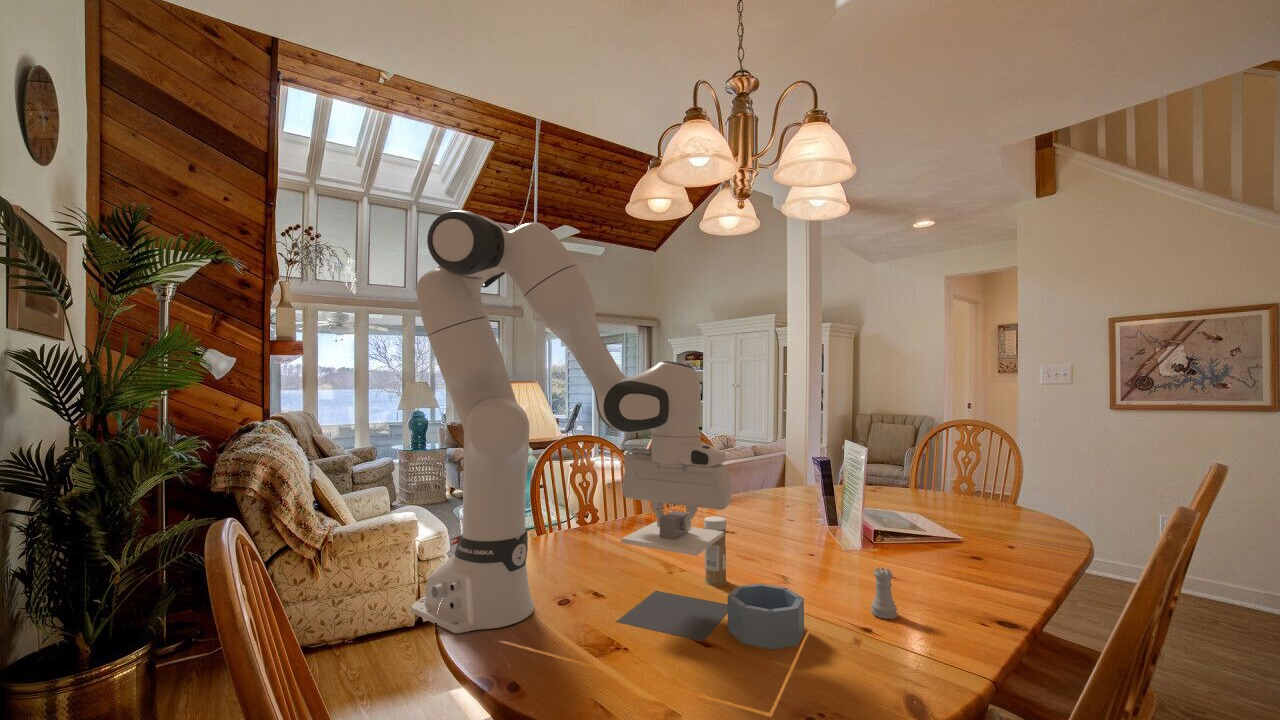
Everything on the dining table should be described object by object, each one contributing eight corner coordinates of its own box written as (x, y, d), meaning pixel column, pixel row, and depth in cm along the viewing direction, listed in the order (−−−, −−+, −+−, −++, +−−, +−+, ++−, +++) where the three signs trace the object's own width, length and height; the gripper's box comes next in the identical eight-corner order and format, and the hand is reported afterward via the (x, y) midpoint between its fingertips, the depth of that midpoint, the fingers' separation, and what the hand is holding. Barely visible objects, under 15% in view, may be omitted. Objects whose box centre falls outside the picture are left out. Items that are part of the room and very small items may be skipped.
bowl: (721, 640, 88) (720, 602, 88) (742, 614, 98) (741, 580, 99) (794, 657, 83) (793, 616, 83) (808, 627, 93) (807, 591, 93)
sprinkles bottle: (731, 585, 113) (730, 518, 113) (714, 589, 110) (714, 522, 111) (716, 578, 117) (716, 514, 117) (699, 582, 114) (699, 517, 115)
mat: (615, 624, 94) (615, 621, 94) (655, 592, 109) (655, 590, 109) (703, 643, 87) (703, 641, 87) (733, 607, 101) (733, 605, 101)
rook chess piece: (882, 621, 95) (881, 575, 96) (865, 611, 99) (864, 566, 100) (903, 618, 96) (902, 572, 97) (885, 608, 101) (884, 564, 101)
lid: (621, 543, 95) (621, 518, 96) (655, 525, 108) (655, 503, 108) (696, 555, 89) (696, 529, 89) (723, 535, 102) (723, 512, 102)
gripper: (617, 448, 101) (615, 524, 100) (723, 457, 92) (722, 540, 91) (632, 445, 107) (631, 517, 106) (734, 453, 97) (733, 532, 97)
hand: (674, 528), depth 99 cm, fingers closed on lid, 3 cm apart
